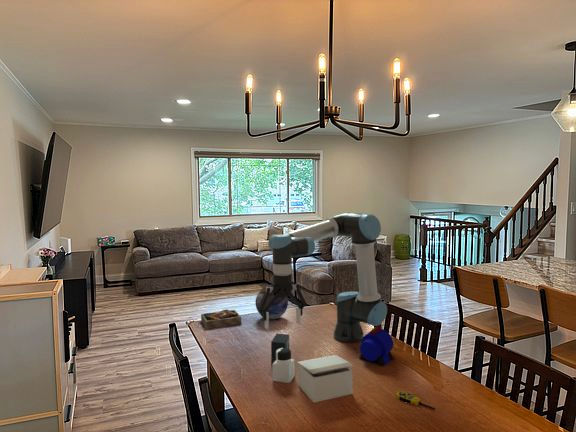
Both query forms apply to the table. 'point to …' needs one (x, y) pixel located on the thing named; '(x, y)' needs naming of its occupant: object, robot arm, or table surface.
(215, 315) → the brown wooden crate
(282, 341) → the small box
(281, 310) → the decorative sphere
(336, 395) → the carton
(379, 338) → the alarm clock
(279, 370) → the medicine bottle
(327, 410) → the table surface
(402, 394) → the yellow black screwdriver
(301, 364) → the lid
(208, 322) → the filled wooden tray
